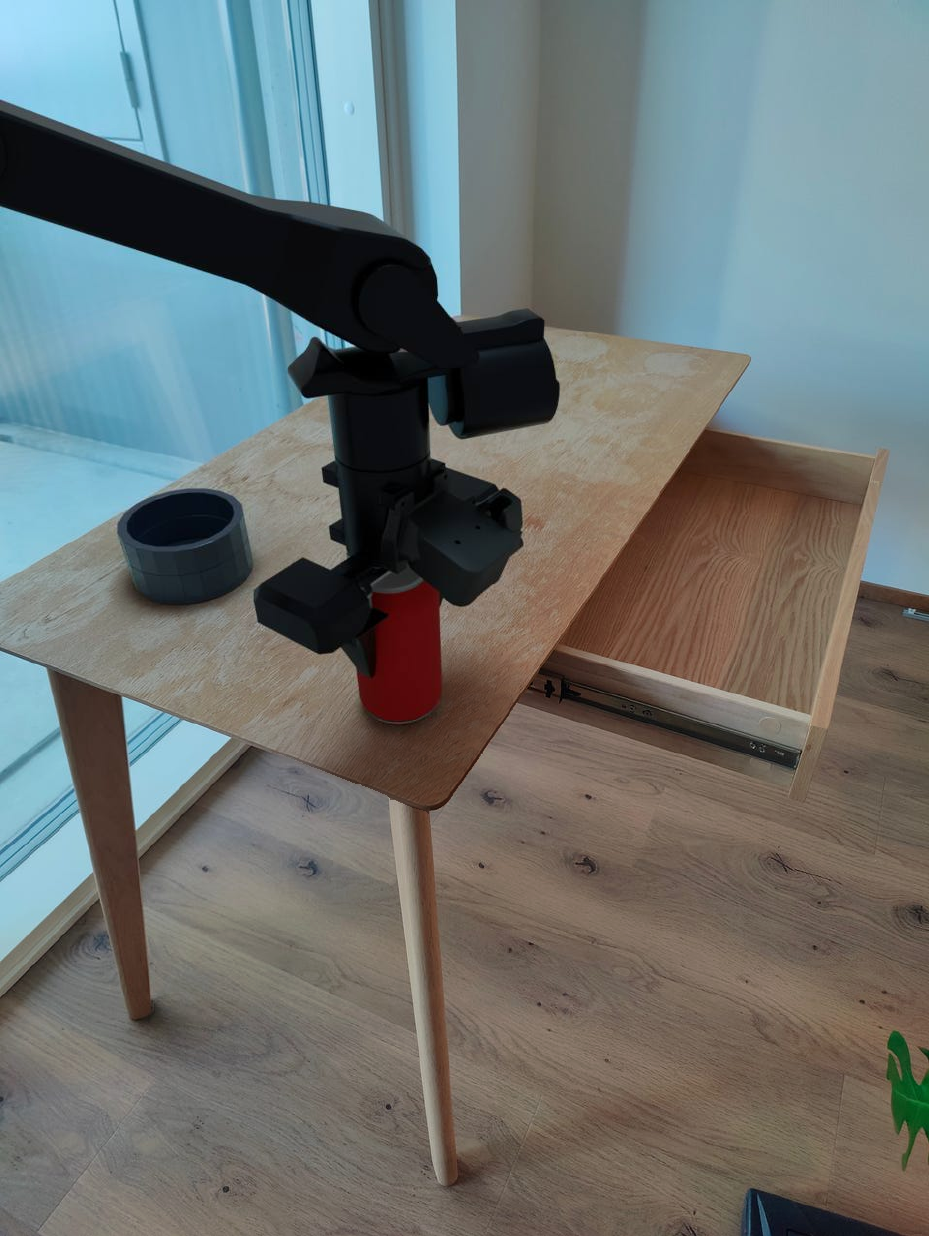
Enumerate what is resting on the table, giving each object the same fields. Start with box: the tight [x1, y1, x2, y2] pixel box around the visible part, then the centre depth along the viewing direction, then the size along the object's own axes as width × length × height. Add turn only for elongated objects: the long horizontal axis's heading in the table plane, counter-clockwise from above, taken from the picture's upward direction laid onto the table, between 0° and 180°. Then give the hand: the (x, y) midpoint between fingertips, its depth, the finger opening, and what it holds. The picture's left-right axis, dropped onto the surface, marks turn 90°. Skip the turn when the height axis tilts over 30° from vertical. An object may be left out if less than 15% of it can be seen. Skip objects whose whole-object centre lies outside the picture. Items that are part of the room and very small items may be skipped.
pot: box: [116, 487, 254, 605], centre depth 74 cm, size 11×11×6 cm
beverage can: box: [355, 563, 443, 725], centre depth 59 cm, size 6×6×12 cm
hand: (397, 650), depth 59 cm, fingers closed on beverage can, 6 cm apart
